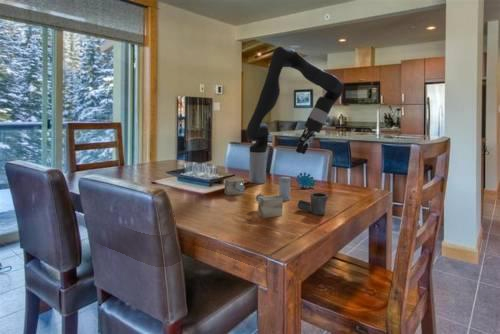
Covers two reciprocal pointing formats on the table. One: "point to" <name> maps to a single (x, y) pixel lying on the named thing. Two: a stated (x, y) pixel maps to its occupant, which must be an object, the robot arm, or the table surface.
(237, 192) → the block
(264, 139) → the robot arm
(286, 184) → the coupling
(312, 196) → the pipe
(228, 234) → the table surface
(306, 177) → the blue spiky round piece
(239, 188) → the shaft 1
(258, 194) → the shaft
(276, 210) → the block
